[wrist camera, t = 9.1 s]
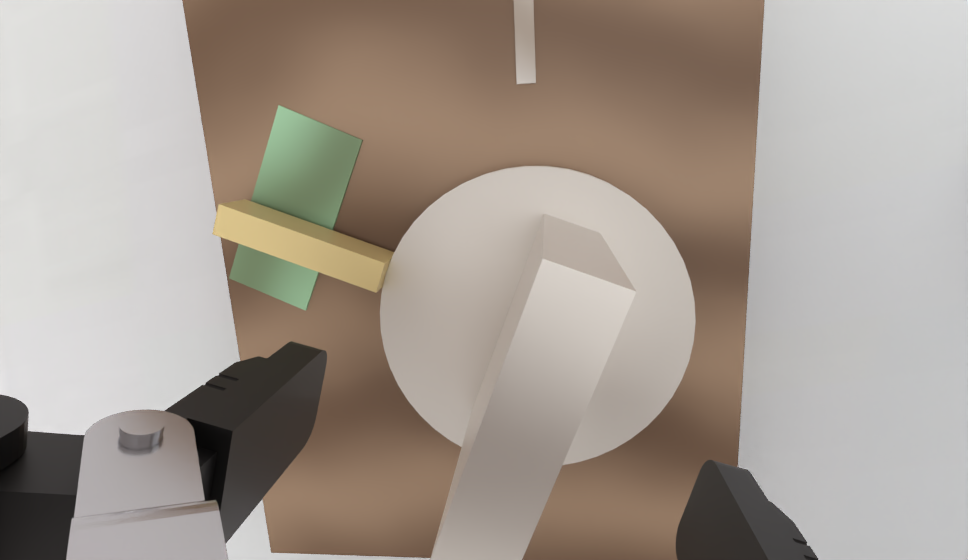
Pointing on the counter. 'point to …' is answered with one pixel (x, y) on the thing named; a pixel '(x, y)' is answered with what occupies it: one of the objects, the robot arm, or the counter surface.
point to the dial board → (444, 166)
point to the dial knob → (513, 330)
